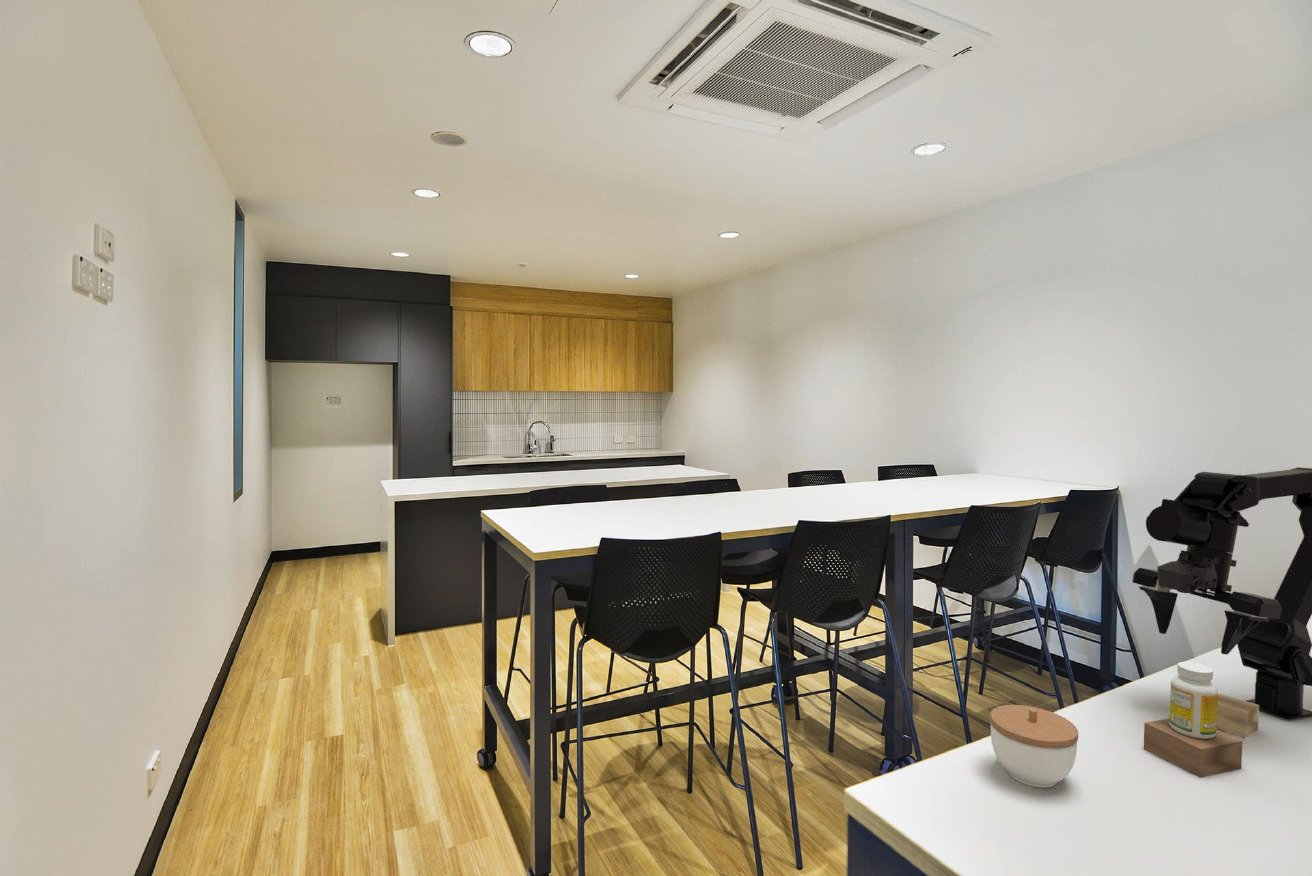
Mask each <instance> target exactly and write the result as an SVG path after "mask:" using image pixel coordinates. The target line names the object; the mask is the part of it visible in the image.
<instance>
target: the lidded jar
mask: <svg viewBox="0 0 1312 876" xmlns="http://www.w3.org/2000/svg"><path fill="white" fill-rule="evenodd" d="M989 722H990V739H991V746H992V749H993V753H994V755H995V756H996V758H997V761H999V763H1000V764H1001V766H1002V767H1003V768H1004V769H1005V770H1006V772H1007V774H1008V775H1009V776H1010V777H1011V778H1012V779H1014V780H1015V781H1017V782H1019V783H1020V784H1023V785H1025V786H1029V787H1032V788H1034V787H1035V788H1043V789H1047V788H1049V789H1050V788H1052V787H1055V786H1056V785H1057V784H1058V783H1059V782H1061V781H1062V780H1064V779H1066V778H1067V776H1068V775H1069V774H1070V773H1071V772H1072V769H1073V768H1074V764H1075V761H1076V757H1077V749H1078V741H1079V730H1078V728H1077V726H1076V725H1075V724H1074V723H1073V722H1071V721H1070V720H1069V719H1067V718H1066V717H1064V716H1061V715H1060V714H1058V713H1055V712H1053V711H1050V710H1046V709H1043V708H1039V707H1035V706H1031V705H1025V704H1022V705H1021V704H1006V705H1004V704H1003V705H1000V706H997V707H994V708H993V709H992V710H991V711H990V713H989Z"/></svg>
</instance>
